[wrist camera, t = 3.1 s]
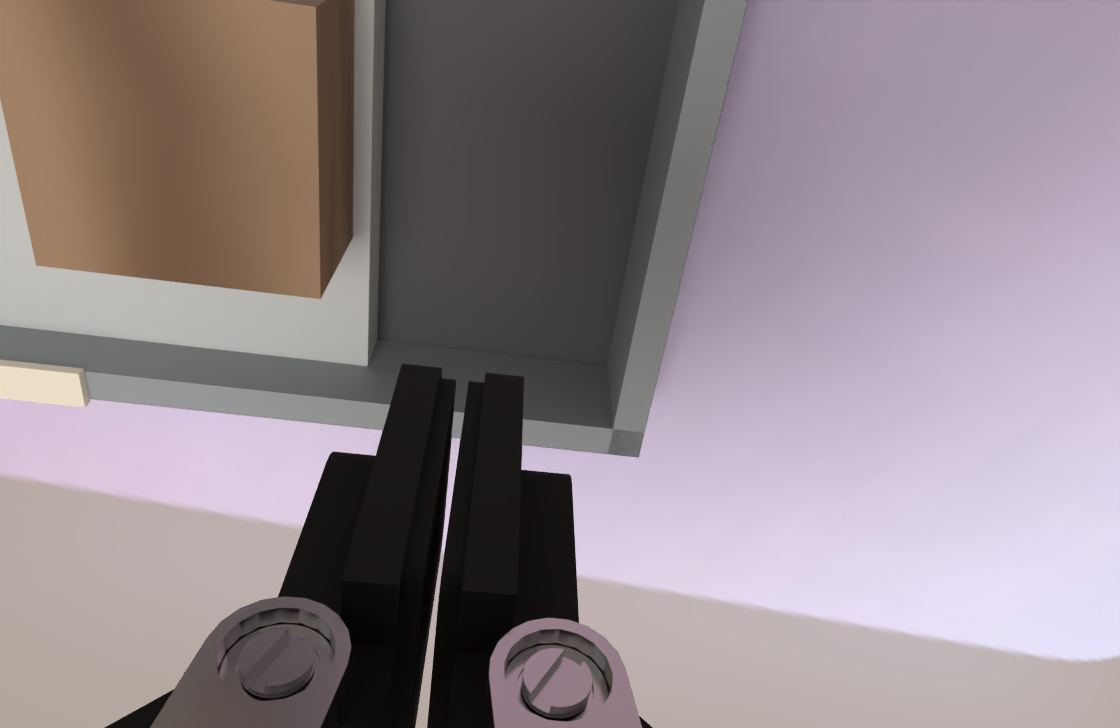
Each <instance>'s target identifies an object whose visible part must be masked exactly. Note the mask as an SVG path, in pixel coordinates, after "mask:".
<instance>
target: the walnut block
mask: <svg viewBox="0 0 1120 728" xmlns="http://www.w3.org/2000/svg"><path fill="white" fill-rule="evenodd" d="M354 19H355V0H0V100H1V105H2V110H3V114H4V119H5V123H6V128H7V133H8V137H9V142H10V147H11V151H12V156H13V161H14V165H15V170H16V174H17V179H18V184H19V188H20V193H21V198H22V202H23V207H24V212H25V216H26V221H27V225H28V230H29V235H30V239H31V244H32V249H33V253H34V258H35V263H36V266H44V267H52V268H61V269H69V270H78V271H86V272H94V273H103V274H111V275H120V276H128V277H137V278H145V279H154V280H162V281H171V282H179V283H188V284H196V285H205V286H213V287H222V288H230V289H238V290H247V291H255V292H264V293H272V294H281V295H289V296H298V297H306V298H315V299H321V298H322V296H323V294H324V292H325V290H326V288H327V286H328V284H329V282H330V280H331V278H332V277H333V275H334V273H335V271H336V269H337V267H338V265H339V263H340V261H341V259H342V257H343V255H344V253H345V252H346V250H347V248H348V246H349V244H350V242H351V240H352V238H353V167H354Z"/></svg>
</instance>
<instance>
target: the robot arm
mask: <svg viewBox="0 0 1120 728" xmlns="http://www.w3.org/2000/svg"><path fill="white" fill-rule="evenodd" d="M455 392H456V380H454V379H445V378H442V368H440V367H430V366H421V365H412V364H402V365H401V368H400V372H399V375H398V379H397V382H396V386H395V389H394V393H393V396H392V400H391V404H390V407H389V411H388V414H387V418H386V421H385V425H384V429H383V432H382V436H381V439H380V443H379V446H378V450H377V454H376V456H372V455H362V454H351V453H341V452H332V453H331V454H330V456H329V458H328V460H327V463H326V465H325V468H324V471H323V474H322V476H321V479H320V482H319V485H318V488H317V490H316V493H315V496H314V499H313V501H312V504H311V507H310V510H309V512H308V515H307V518H306V521H305V524H304V526H303V529H302V532H301V535H300V537H299V540H298V543H297V546H296V549H295V551H294V554H293V557H292V560H291V562H290V565H289V568H288V571H287V574H286V576H285V579H284V582H283V585H282V587H281V590H280V593H279V596H278V598H271V599H264V600H260V601H258V602H255V603H253V604H250V605H247V606H245V607H242V608H240V609H239V610H237V611H235V612H234V613H232V614H231V615H230V616H228V617H227V618H225V619H224V620H222V621H221V622H220V624H218V626H217V627H216V628H215V629H214V630H213V631H212V633H211V634H210V635H209V636H208V637H207V639H206V640H205V642H204V643H203V645H202V647H201V648H200V650H199V651H198V653H197V654H196V656H195V658H194V659H193V661H192V662H191V664H190V666H189V667H188V669H187V670H186V672H185V673H184V675H183V677H182V678H181V680H180V681H179V683H178V684H177V686H176V688H175V689H174V690H172V691H170V692H168V693H167V694H165V695H163V696H161V697H159V698H157V699H156V700H154V701H152V702H150V703H148V704H147V705H145V706H143V707H141V708H139V709H138V710H136V711H134V712H132V713H131V714H129V715H127V716H125V717H123V718H121V719H120V720H118V721H116V722H114V723H113V724H111V725H109V726H107V727H105V728H415V725H416V718H417V711H418V704H419V697H420V690H421V684H422V677H423V670H424V663H425V656H426V650H427V642H428V636H429V628H430V622H431V615H432V609H433V601H434V595H435V588H436V581H437V574H438V568H439V561H440V554H441V547H442V538H443V529H444V518H445V507H446V495H447V484H448V472H449V461H450V450H451V438H452V427H453V415H454V404H455ZM523 400H524V376H515V375H505V374H496V373H486V372H485V381H484V383H482V382H473V381H469V383H468V390H467V397H466V404H465V411H464V418H463V426H462V433H461V440H460V447H459V454H458V461H457V468H456V475H455V482H454V490H453V497H452V504H451V511H450V518H449V525H448V532H447V539H446V547H445V554H444V561H443V569H442V576H441V585H440V593H439V603H438V612H437V625H436V636H435V646H434V658H433V670H432V681H431V692H430V703H429V714H428V726H427V728H652V727H651V726H650V725H649V724H648V723H647V722H645V721H644V720H643V719H642V718H641V717H640V716H639V715H638V711H637V708H636V704H635V700H634V697H633V693H632V690H631V686H630V682H629V679H628V675H627V672H626V668H625V666H624V664H623V662H622V660H621V658H620V656H619V654H618V652H617V650H616V649H615V648H614V647H613V646H612V645H611V644H610V643H609V642H608V641H607V640H606V638H605V637H603V636H602V635H600V634H599V633H597V632H596V631H594V630H592V629H591V628H590V627H588V626H586V625H583V624H579V617H578V597H577V577H576V557H575V537H574V517H573V497H572V482H571V476H570V475H568V474H558V473H548V472H537V471H527V470H521V461H522V431H523Z"/></svg>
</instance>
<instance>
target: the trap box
mask: <svg viewBox="0 0 1120 728" xmlns="http://www.w3.org/2000/svg"><path fill="white" fill-rule="evenodd" d="M747 2H748V0H355V19H354V167H353V238H352V240H351V242H350V244H349V246H348V248H347V250H346V252H345V253H344V255H343V257H342V259H341V261H340V263H339V265H338V267H337V269H336V271H335V273H334V275H333V277H332V278H331V280H330V282H329V284H328V286H327V288H326V290H325V292H324V294H323V296H322V298H321V299H315V298H306V297H298V296H289V295H281V294H272V293H264V292H255V291H247V290H238V289H230V288H222V287H213V286H205V285H196V284H188V283H179V282H171V281H162V280H154V279H145V278H137V277H128V276H120V275H111V274H103V273H94V272H86V271H78V270H69V269H61V268H52V267H44V266H36V263H35V258H34V253H33V249H32V244H31V239H30V235H29V230H28V225H27V221H26V216H25V212H24V207H23V202H22V198H21V193H20V188H19V184H18V179H17V174H16V170H15V165H14V161H13V156H12V151H11V147H10V142H9V137H8V133H7V128H6V123H5V119H4V114H3V110H2V105H1V100H0V398H2V399H12V400H21V401H31V402H40V403H50V404H59V405H69V406H78V407H86V406H87V404H88V403H89V402H90V400H89V399H95V400H104V401H113V402H123V403H132V404H142V405H151V406H160V407H170V408H179V409H189V410H198V411H207V412H217V413H226V414H236V415H245V416H255V417H264V418H273V419H283V420H292V421H302V422H311V423H320V424H330V425H339V426H349V427H358V428H367V429H377V430H383V429H384V425H385V421H386V418H387V414H388V411H389V407H390V404H391V400H392V396H393V393H394V389H395V386H396V382H397V379H398V375H399V372H400V368H401V365H402V364H412V365H421V366H430V367H440V368H442V378H445V379H454V380H456V392H455V404H454V415H453V427H452V438H461V433H462V426H463V418H464V411H465V404H466V397H467V390H468V383H469V381H473V382H482V383H484V381H485V372H486V373H496V374H505V375H515V376H524V400H523V431H522V445H527V446H537V447H546V448H555V449H565V450H574V451H584V452H593V453H602V454H612V455H621V456H631V457H639V453H640V449H641V445H642V440H643V436H644V432H645V428H646V424H647V419H648V415H649V411H650V407H651V403H652V399H653V394H654V390H655V386H656V382H657V378H658V374H659V369H660V365H661V361H662V357H663V353H664V349H665V344H666V340H667V336H668V332H669V328H670V323H671V319H672V315H673V311H674V307H675V303H676V298H677V294H678V290H679V286H680V282H681V278H682V273H683V269H684V265H685V261H686V257H687V253H688V248H689V244H690V240H691V236H692V232H693V227H694V223H695V219H696V215H697V211H698V207H699V202H700V198H701V194H702V190H703V186H704V182H705V177H706V173H707V169H708V165H709V161H710V157H711V152H712V148H713V144H714V140H715V136H716V131H717V127H718V123H719V119H720V115H721V111H722V106H723V102H724V98H725V94H726V90H727V86H728V81H729V77H730V73H731V69H732V65H733V61H734V56H735V52H736V48H737V44H738V40H739V35H740V31H741V27H742V23H743V19H744V15H745V10H746V6H747Z"/></svg>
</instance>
